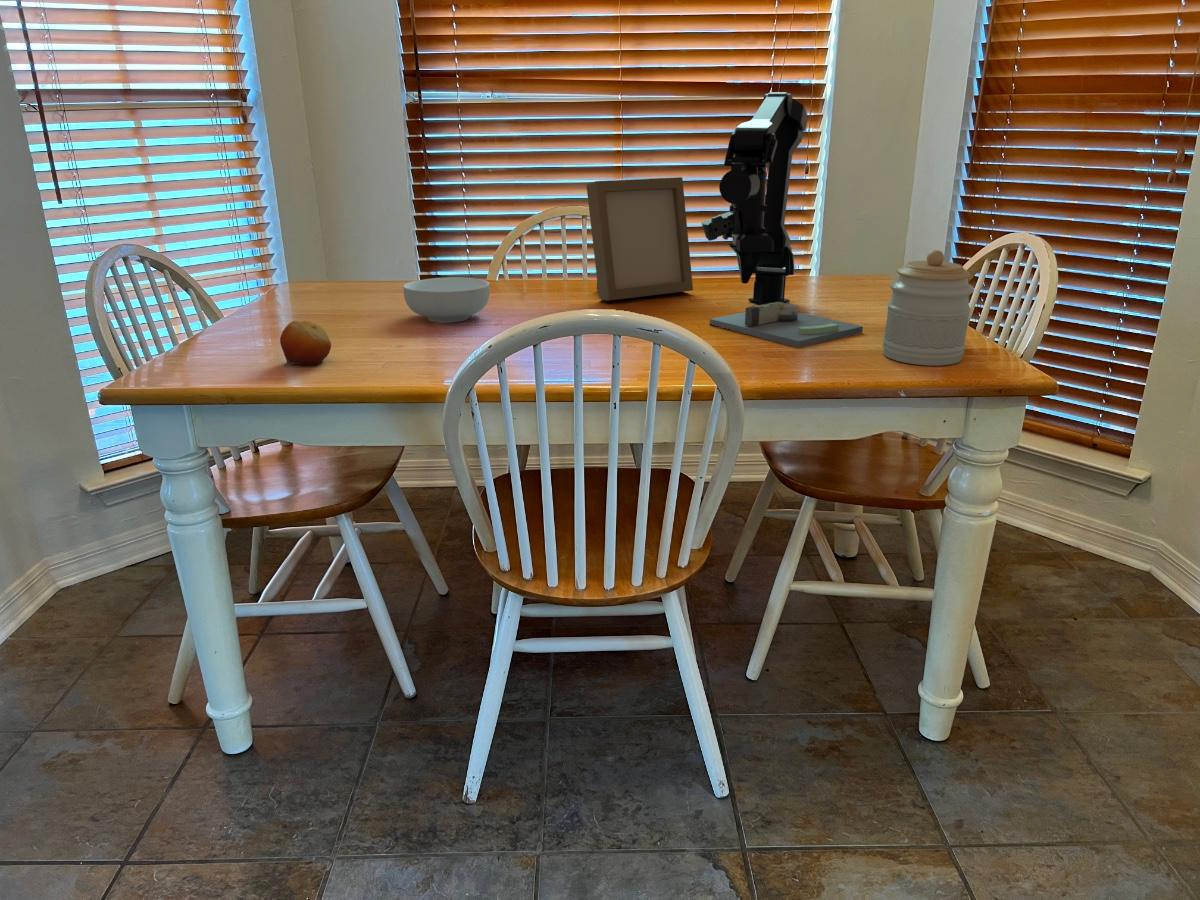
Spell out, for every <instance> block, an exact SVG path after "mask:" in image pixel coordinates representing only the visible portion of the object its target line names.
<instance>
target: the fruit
mask: <svg viewBox="0 0 1200 900" xmlns="http://www.w3.org/2000/svg"><path fill="white" fill-rule="evenodd" d="M328 335H329V334H327V332H326V330H324V328H322V327H321V326H320V325H318V324H316V323H313V322H311V321H309V320H308V321H307V320H304V321H299V320H293V321H290V322H289V323H288V324H287V325H286V326H285V327H284V329H283V330H282V332H281V334H280V337H279V342H280V347H281V349H282V352H283V355H284V357H285V360H286V363H284V365H283V367H286V366H288V365H289V364H297V365H301V366H317V365H319V364H321V363H322V362H323V360H324V359H326V358H327V356H328V355H329V353H330V351H331V350H332V342H331V340H330V337H329V336H328ZM324 361H325V360H324Z"/></svg>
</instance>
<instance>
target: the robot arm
mask: <svg viewBox="0 0 1200 900" xmlns="http://www.w3.org/2000/svg"><path fill="white" fill-rule="evenodd" d="M807 126H808V113H807V111H806V108H805V105H804V104H803V103H801V102H799V101H797V100H796V99H794V98H793V96H792V93H788V92H786V91H785V92H783V91H782V92H768V93H765V94H764V96H763V99H762V103H761V105H760V106H759V108H758V110H757V111H756V112H755V114H754V115H753V117H752V119H750V120H748V121H745V122H741V123H740V124H739V125H738V126H737V127H736V128H735V129H734V130H733V132H732V133H731V134H730V138H729V140H728V141H729V142H728V147H727V150H726V154H725V159H724V162H723V165H724V167H730V170H729V171H727V172H726V173H725V174H724V175H723V176H722V178H721V179H720V182H719V185H718V186H719V187H718V188H719V194H720V196H721V197H722V198H723V200H724V201H725V202H727V203H729V204H730V205H729V210H728V212H725V213H722V214H717V215H716V216H712V217H711V218H708V219H706V220H703V221H701V226H702V229H703V232H704V235H705V238H706V239H707V240H708V241H710V242H711V241H714V240H715V241H716V240H717V239H718V238H720V237H721V238H722V239H723V240H726V241H727V240H729V238H731V239H732V240H731V241H732V243H728V244H727V246H728V247H730V249H731V250H732V251H733V252H734V253H735V255H736V260H737V265H738V266H737V267H738V271H739V276H740V282H741V284H748V283H749V281H750V279H751V277H752V275H753V274H755V277H754V279H755V280H754V282H753V292H752V293H753V295H752V297H751V298H748V302H752V303H757V304H759V305H763V304H769V303H774V302H783V303H790V299H788V298H785V295H786V294H785V292H786V283H787V282H786V280H787V277H789V276H793V275H795V256H794V253H793V249H792V246H791V238H790V236H789V234H788V231H787V229H786V227H785V224H786V223H785V222H786V212H787V205H788V204H787V203H788V198H789V197H788V195H789V186H790V177H791V169H792V161H793V154H794V153H795V151H796V149H797V148H798V147H799V146H800V144H801V142H802V141H803V138H804V137H803V135H804V132H806V129H807ZM767 168H768V173H767Z"/></svg>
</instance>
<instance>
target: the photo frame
mask: <svg viewBox="0 0 1200 900" xmlns="http://www.w3.org/2000/svg"><path fill="white" fill-rule="evenodd" d="M586 194H587V202H588V210H589V219H590V231H591V238H592V239H591V240H592V246H593V255H594V256H593V257H594V263H595V273H596V291H598V299H601V300H605V301H604V302H607V301H614V300H615V301H617V300H624V299H632V298H640V297H641V298H642V297H648V296H658V295H665V294H674V293H682V292H691V291H694V288H693V287H694V284H693V275H692V265H691V264H692V263H691V255H690V242H689V232H688V231H689V230H688V222H687V212H686V201H685V200H686V199H685V192H684V180H683V177H681V176H678V177H677V176H676V177H661V178H660V177H657V178H636V179H616V180H615V179H613V180H612V179H611V180H597V181H592V182H590V183H587V184H586Z"/></svg>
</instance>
